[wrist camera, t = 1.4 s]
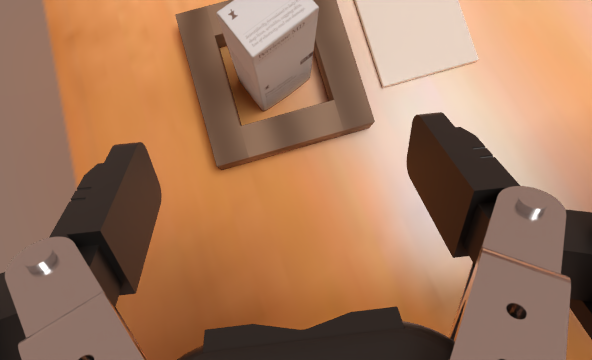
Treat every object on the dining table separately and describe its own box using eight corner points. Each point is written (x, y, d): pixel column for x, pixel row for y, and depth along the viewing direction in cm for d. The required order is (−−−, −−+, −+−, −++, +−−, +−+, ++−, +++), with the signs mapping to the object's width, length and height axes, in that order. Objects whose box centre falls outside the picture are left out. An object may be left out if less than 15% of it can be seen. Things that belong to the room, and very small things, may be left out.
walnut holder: (325, -11, 38) (327, -27, 36) (369, 127, 37) (374, 121, 34) (182, 27, 38) (175, 14, 35) (222, 170, 36) (216, 166, 34)
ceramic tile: (445, -29, 39) (447, -32, 38) (476, 61, 38) (478, 59, 37) (352, -4, 38) (353, -7, 38) (382, 88, 37) (383, 86, 37)
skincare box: (264, 113, 37) (251, 63, 25) (236, 79, 37) (210, 13, 25) (313, 76, 37) (324, 9, 25) (285, 42, 38) (283, -40, 26)
